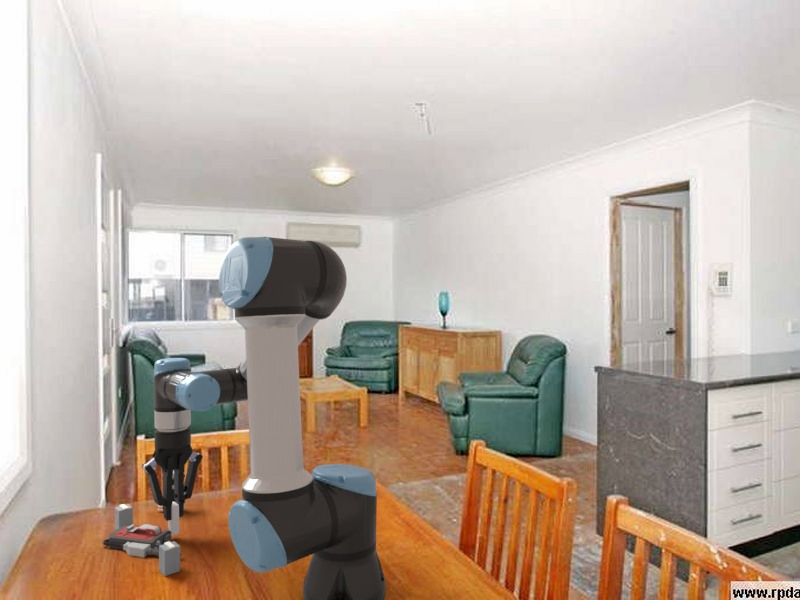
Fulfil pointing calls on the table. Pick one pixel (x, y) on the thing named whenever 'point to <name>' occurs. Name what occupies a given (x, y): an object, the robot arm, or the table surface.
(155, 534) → the walkie-talkie
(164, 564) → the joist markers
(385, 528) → the table surface
